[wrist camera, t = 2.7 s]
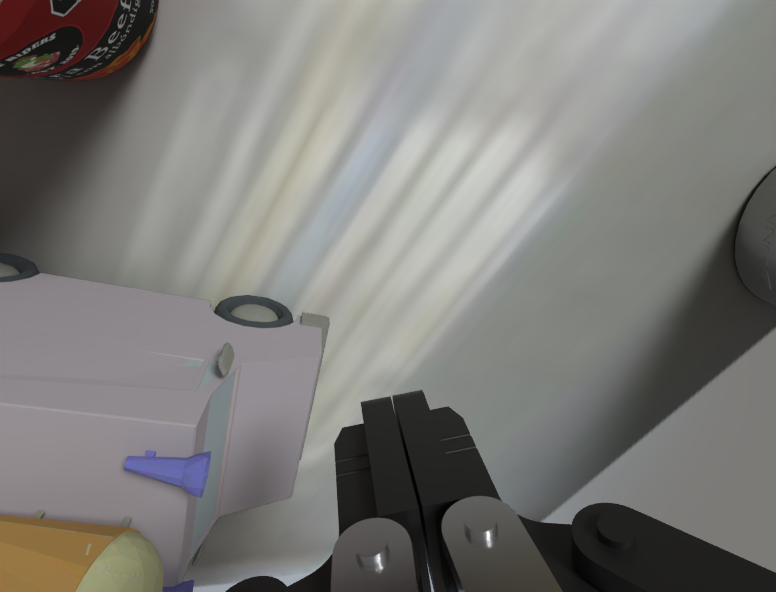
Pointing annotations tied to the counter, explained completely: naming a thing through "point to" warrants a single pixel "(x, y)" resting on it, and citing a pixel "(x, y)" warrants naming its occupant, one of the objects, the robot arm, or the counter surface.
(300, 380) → the toy vehicle
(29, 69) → the canned food
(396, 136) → the counter surface
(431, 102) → the counter surface
